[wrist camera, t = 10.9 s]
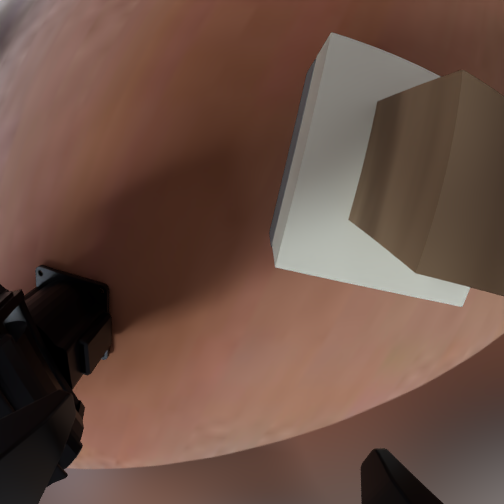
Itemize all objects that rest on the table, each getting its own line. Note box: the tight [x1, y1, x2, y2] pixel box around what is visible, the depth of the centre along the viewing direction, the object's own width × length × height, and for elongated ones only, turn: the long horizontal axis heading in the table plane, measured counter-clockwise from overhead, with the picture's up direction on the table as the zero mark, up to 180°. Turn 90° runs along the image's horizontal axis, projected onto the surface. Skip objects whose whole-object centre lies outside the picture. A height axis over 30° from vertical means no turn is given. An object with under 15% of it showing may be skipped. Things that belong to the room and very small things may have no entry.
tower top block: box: [272, 32, 470, 307], centre depth 13 cm, size 10×10×4 cm
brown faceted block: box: [348, 70, 504, 296], centre depth 9 cm, size 5×5×6 cm
